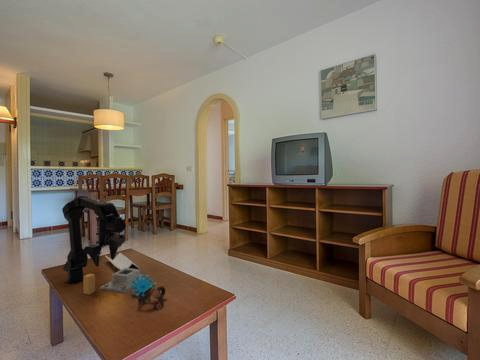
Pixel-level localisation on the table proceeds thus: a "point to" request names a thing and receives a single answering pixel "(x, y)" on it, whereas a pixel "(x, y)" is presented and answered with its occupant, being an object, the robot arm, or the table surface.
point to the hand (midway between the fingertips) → (105, 262)
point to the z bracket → (121, 262)
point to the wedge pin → (89, 283)
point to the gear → (142, 285)
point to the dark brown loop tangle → (155, 294)
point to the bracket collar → (123, 280)
